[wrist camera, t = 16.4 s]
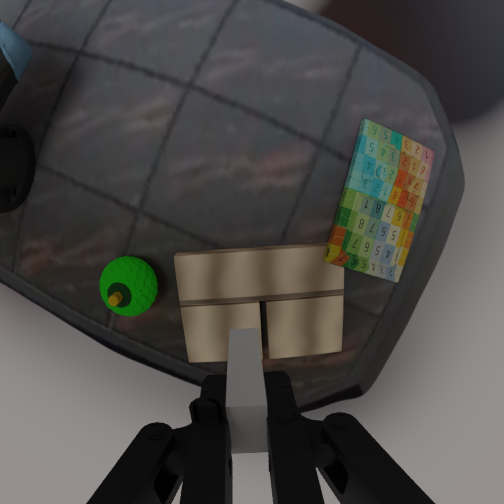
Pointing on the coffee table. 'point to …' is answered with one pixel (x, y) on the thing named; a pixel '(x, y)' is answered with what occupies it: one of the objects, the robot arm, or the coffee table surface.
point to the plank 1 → (216, 328)
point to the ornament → (128, 286)
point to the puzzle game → (380, 203)
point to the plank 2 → (304, 325)
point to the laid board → (256, 274)
